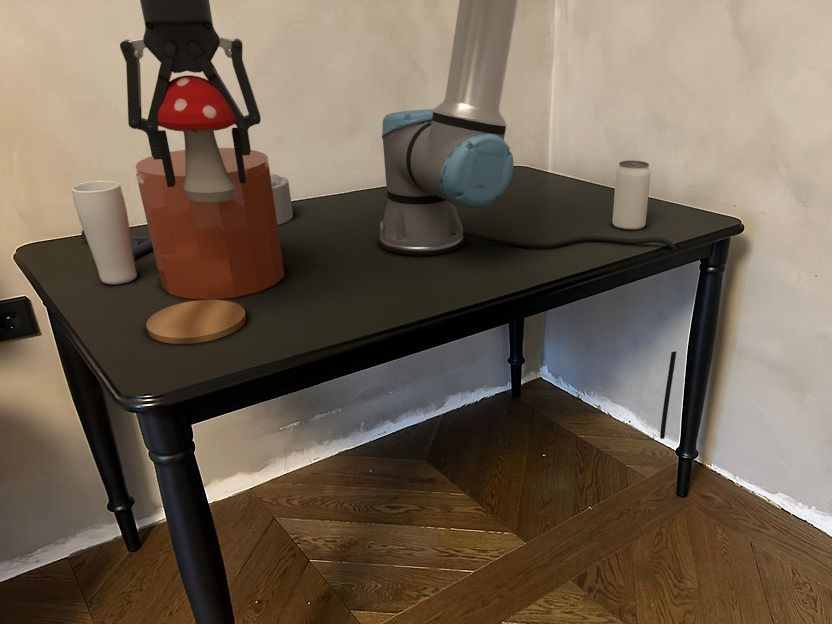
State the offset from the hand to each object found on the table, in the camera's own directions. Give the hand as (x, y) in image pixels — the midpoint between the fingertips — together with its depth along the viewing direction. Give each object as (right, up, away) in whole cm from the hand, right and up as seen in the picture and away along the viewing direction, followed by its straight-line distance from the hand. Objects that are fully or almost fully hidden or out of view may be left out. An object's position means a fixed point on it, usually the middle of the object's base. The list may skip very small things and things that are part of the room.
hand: (207, 182), depth 99 cm
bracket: (-30, -1, +37) cm, 48 cm away
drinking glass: (-23, -10, +22) cm, 33 cm away
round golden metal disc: (-4, -18, +8) cm, 20 cm away
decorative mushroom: (0, -2, +1) cm, 2 cm away
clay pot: (-7, -9, +23) cm, 26 cm away
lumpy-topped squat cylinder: (-10, +6, +51) cm, 52 cm away
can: (+63, +5, +50) cm, 80 cm away
